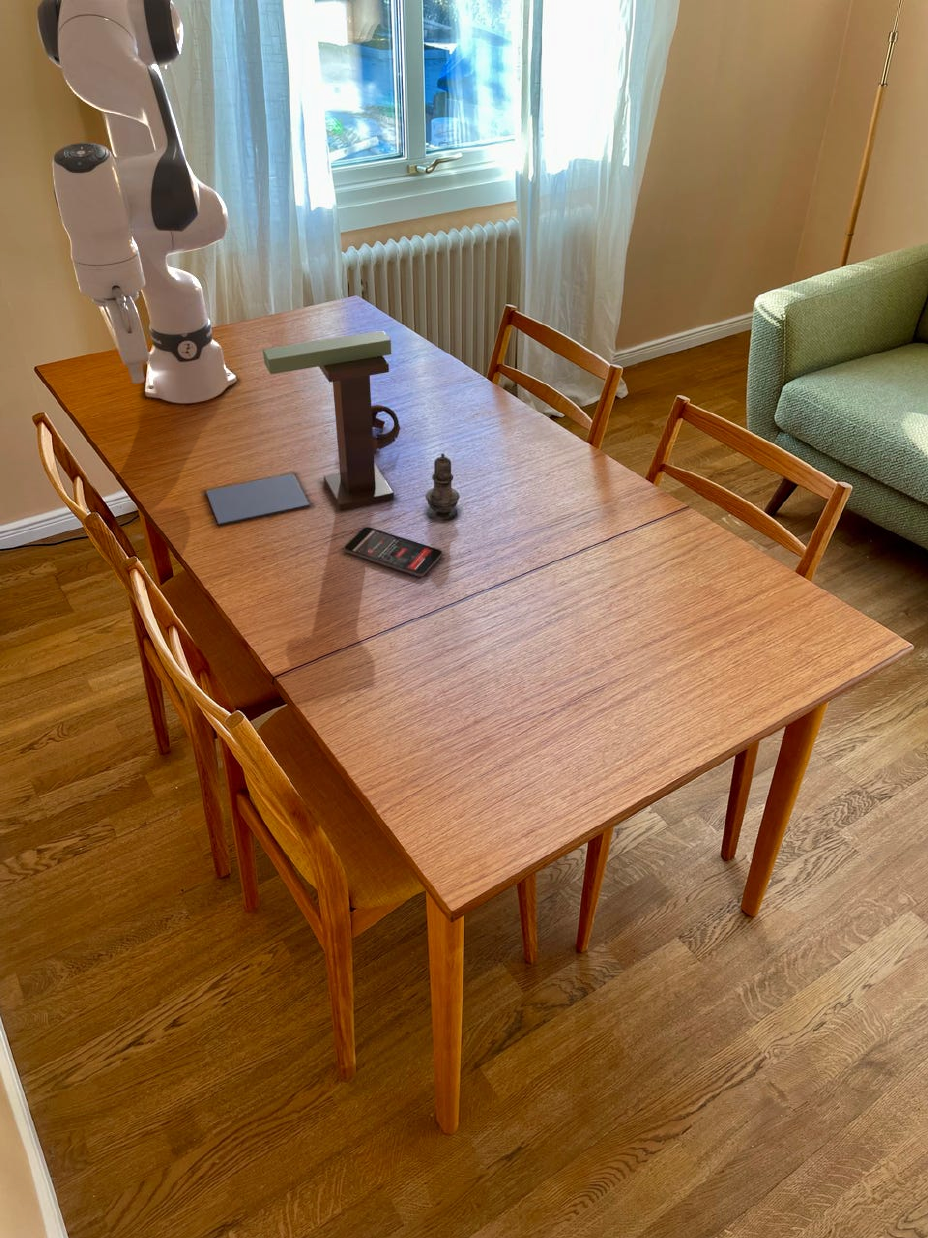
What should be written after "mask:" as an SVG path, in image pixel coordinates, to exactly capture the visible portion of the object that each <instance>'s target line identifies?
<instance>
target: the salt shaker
mask: <svg viewBox="0 0 928 1238" xmlns="http://www.w3.org/2000/svg"><path fill="white" fill-rule="evenodd" d="M433 470H434V471H433V472H434V473H433V474H432V476H431V479H432V481H433V488H430V489H429V490H428V491H427V492H426V493H425V499H426V501H427V504H428V506H429V509H428V510H427V516H428V518H430V519H431V520H433V521H434V522H441V523H444V522H445V523H446V522H451V521H453V520H454V519H456V518H457V517H458V515H459V512H458V510H457V508H456V507H457V504H458V502H459V500H460V496H461V495H460V493H459V492H458V491H457V490H456V489H455V488H453V487H452V481H453V480H454V475H453V474H452V461H451V459H450V458H448V457H447V456H446V455H445V454H444V452H442V453H441V454H440V456H438V457H436V458H435V459H434V462H433Z"/></svg>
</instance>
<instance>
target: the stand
mask: <svg viewBox="0 0 928 1238" xmlns="http://www.w3.org/2000/svg"><path fill="white" fill-rule="evenodd" d="M318 368H319V369H320V371H321V372H322V373H323V375H324V377H325V378H326V380H327V381H328V383H332V389H333V403H334V412H335V413H334V415H335V428H336V438H337V453H338V464H339V472H335V473H334V472H333V473H330V474H325V475H323V477H322V478H323V483H324V485H325V487H326V488H327V491H328V492H329V494H330V496H331V497H332V499H333V501H334V503H335V505H336V506H337V508H338V510H339V512H343V511H348V510H354V509H357V508H361V507H366V506H371V505H376V504H381V503H385V502H390V501H394V500H395V493H394V491H393V490H392V488H391V487H390V485H389V483H388V482H387V480H386V479H385V477H384V475H383V474H382V472H381V471H380V469H379V468H378V466H377V465H376V464H375V452H374V446H373V437H374V431H373V430H374V429H373V428H374V427H372V408H371V406H372V391H371V376H375V375H380V374H386V373H390V364H389V362H388V361H387V359H385V357H384V356H378V357H372V358H366V359H360V360H354V361H348V362H342V363H336V364H330V365H324V366H318Z"/></svg>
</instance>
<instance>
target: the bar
mask: <svg viewBox="0 0 928 1238" xmlns="http://www.w3.org/2000/svg"><path fill="white" fill-rule="evenodd" d="M262 355H263V364H264V366H265V367H266V369H267V371H268V372H269V374H270V375H276V374H282V373H288V372H293V371H299V370H305V369H311V368H317V367H318V368H319V366H324V365H330V364H336V363H342V362H348V361H354V360H360V359H366V358H372V357H378V356H383V357H384V356H389V355H392V340H391V338H389V336H388V334H386V332H385V331H384V330H382V329H381V330H375V331H370V332H363V333H356V334H351V335H344V336H337V337H331V338H325V339H319V340H313V341H305V342H300V343H294V344H293V343H292V344H288V345H287V344H286V345H281V346H275V347H269V348H268V347H267V348H262Z"/></svg>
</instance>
